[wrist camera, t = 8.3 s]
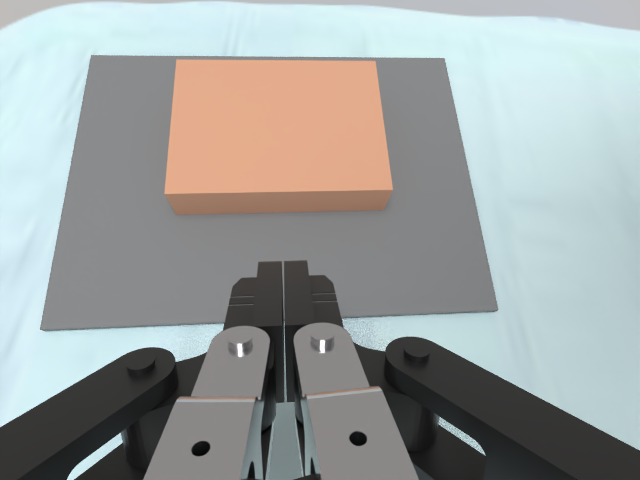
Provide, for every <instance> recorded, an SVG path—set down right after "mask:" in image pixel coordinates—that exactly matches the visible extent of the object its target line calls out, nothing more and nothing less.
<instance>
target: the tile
mask: <svg viewBox="0 0 640 480" xmlns="http://www.w3.org/2000/svg"><path fill="white" fill-rule="evenodd" d="M392 191H393V186H392V179H391V171H390V164H389V157H388V149H387V142H386V134H385V127H384V120H383V112H382V105H381V98H380V90H379V83H378V76H377V68H376V61H317V60H181V59H176V69H175V80H174V92H173V103H172V114H171V125H170V136H169V148H168V159H167V170H166V181H165V193H164V194H165V196H166V198H167V199H168V201H169V203H170V205H171V206H172V208H173V210H174V212H175V213H176V215H186V214H232V213H277V212H322V211H367V210H384V208H385V206H386V204H387V202H388V199H389V197H390V195H391V193H392Z"/></svg>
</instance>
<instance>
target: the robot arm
mask: <svg viewBox="0 0 640 480" xmlns="http://www.w3.org/2000/svg"><path fill="white" fill-rule="evenodd" d="M284 310H285V353H286V386H287V402H295V429H296V437H297V444H298V452H299V460H300V467H301V475H302V477H301V478H298V479H294V480H640V451H639V450H637V449H635V448H634V447H632V446H630V445H628V444H626V443H624V442H622V441H620V440H618V439H616V438H614V437H613V436H611V435H609V434H607V433H605V432H603V431H601V430H599V429H597V428H595V427H594V426H592V425H590V424H588V423H586V422H584V421H582V420H580V419H578V418H576V417H575V416H573V415H571V414H569V413H567V412H565V411H563V410H561V409H559V408H557V407H556V406H554V405H552V404H550V403H548V402H546V401H544V400H542V399H540V398H538V397H536V396H535V395H533V394H531V393H529V392H527V391H525V390H523V389H521V388H519V387H517V386H516V385H514V384H512V383H510V382H508V381H506V380H504V379H502V378H500V377H498V376H497V375H495V374H493V373H491V372H489V371H487V370H485V369H483V368H481V367H479V366H477V365H476V364H474V363H472V362H470V361H468V360H466V359H464V358H462V357H460V356H458V355H457V354H455V353H453V352H451V351H449V350H447V349H445V348H443V347H441V346H439V345H438V344H436V343H434V342H432V341H429V340H427V339H423V338H419V337H402V338H398V339H395V340H393V341H392V342H390V343H389V344H388V346H387V348H386V352H385V351H379V350H373V349H368V348H365V347H362V346H360V345H357V344H356V343H354V342H353V341H352V338H351V336H350V334H349V333H348V332H347V331H346V330H345V329H344V328H343V323H342V319H341V315H340V310H339V306H338V302H337V297H336V294H335V289H334V284H333V282H332V281H331V280H329V279H328V278H327V277H326V276H325V275H309V271H308V263H307V260H295V261H284ZM282 402H284V311H283V278H282V261H263V262H258V269H257V277H249V278H241V279H240V280H239V281H238V282H236V283H235V284H234V285H233V287H232V291H231V296H230V300H229V306H228V309H227V314H226V319H225V323H224V328H223V331H222V332H220V333H219V334H217V335H216V336H215V337H214V338H213V340H212V341H211V344H210V346H209V349H208V352H206V353H204V354H202V355H200V356H197V357H194V358H190V359H186V360H182V361H179V362H175V357H174V355H173V354H172V353H171V352H170V351H168V350H166V349H162V348H156V347H150V348H142V349H138V350H135V351H132V352H129V353H127V354H125V355H123V356H121V357H120V358H118V359H116V360H115V361H113V362H111V363H109V364H108V365H106V366H104V367H103V368H101V369H99V370H98V371H96V372H94V373H92V374H91V375H89V376H87V377H86V378H84V379H82V380H80V381H79V382H77V383H75V384H74V385H72V386H70V387H68V388H67V389H65V390H63V391H62V392H60V393H58V394H57V395H55V396H53V397H51V398H50V399H48V400H46V401H45V402H43V403H41V404H39V405H38V406H36V407H34V408H33V409H31V410H29V411H27V412H26V413H24V414H22V415H21V416H19V417H17V418H16V419H14V420H12V421H10V422H9V423H7V424H5V425H4V426H2V427H0V480H67V478H68V476H69V474H70V473H71V471H72V470H73V469H74V467H75V466H76V465H77V464H79V463H80V462H81V461H82V460H84V459H85V458H86V457H88V456H89V455H90V454H92V453H93V452H95V451H96V450H97V449H99V448H100V447H101V446H103V445H104V444H105V443H107V442H108V441H110V440H111V439H112V438H114V437H115V436H116V435H118V434H119V433H120V432H121V436H122V440H123V443H122V444H121V445H119V446H118V447H117V448H115V449H114V450H113V451H111V452H110V453H109V454H107V455H106V456H105V457H103V458H102V459H101V460H99V461H98V462H97V463H96V464H94V465H93V466H92V467H90V468H89V469H88V470H86V471H85V472H84V473H82V474H81V475H80V476H78V477H77V478H76V479H74V480H268V478H269V469H270V460H271V452H272V443H273V434H274V418H275V416H276V403H282ZM439 416H440V417H441V418H443V419H444V420H446V421H447V422H449V423H450V424H452V425H453V426H455V427H456V428H458V429H459V430H461V431H463V432H464V433H466V434H467V435H469V436H470V437H472V438H473V439H474V440H476V441H477V442H478V443H479V445H480V446H481V447H482V449H483V450H484V452H485V454H486V456H485V455H483V454H482V453H480V452H479V451H477V450H476V449H474V448H473V447H471V446H470V445H468V444H467V443H465V442H464V441H462V440H461V439H459V438H458V437H456V436H455V435H453V434H452V433H450V432H449V431H447V430H446V429H444V428H443V427H441V426H440V425H438V423H439Z"/></svg>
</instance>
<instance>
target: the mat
mask: <svg viewBox="0 0 640 480" xmlns="http://www.w3.org/2000/svg"><path fill="white" fill-rule="evenodd" d="M176 59H181V60H317V61H376V68H377V76H378V83H379V90H380V98H381V105H382V112H383V120H384V127H385V134H386V142H387V149H388V157H389V164H390V171H391V179H392V186H393V191H392V193H391V195H390V197H389V199H388V202H387V204H386V206H385V208H384V210H367V211H322V212H277V213H232V214H186V215H176V213H175V212H174V210H173V208H172V206H171V205H170V203H169V201H168V199H167V198H166V196H165V194H164V193H165V181H166V170H167V159H168V148H169V136H170V125H171V114H172V103H173V92H174V80H175V69H176ZM295 260H307V263H308V271H309V275H325V276H326V277H327V278H328V279H329V280H331V281H332V282H333V284H334V289H335V294H336V297H337V302H338V306H339V310H340V315H341V318H354V317H377V316H400V315H423V314H447V313H470V312H493V311H497V310H498V306H497V301H496V297H495V292H494V287H493V283H492V278H491V273H490V269H489V264H488V259H487V255H486V250H485V245H484V241H483V236H482V231H481V227H480V222H479V217H478V213H477V208H476V203H475V199H474V194H473V189H472V185H471V180H470V175H469V171H468V166H467V161H466V157H465V152H464V147H463V143H462V138H461V133H460V129H459V124H458V119H457V115H456V110H455V105H454V101H453V96H452V91H451V87H450V82H449V77H448V73H447V68H446V63H445V59H444V58H356V57H231V56H105V55H91V59H90V64H89V69H88V75H87V80H86V85H85V91H84V96H83V102H82V107H81V112H80V118H79V123H78V128H77V134H76V139H75V144H74V150H73V155H72V161H71V166H70V171H69V177H68V182H67V187H66V193H65V198H64V203H63V209H62V214H61V220H60V225H59V230H58V236H57V241H56V246H55V252H54V257H53V262H52V268H51V273H50V279H49V284H48V289H47V295H46V300H45V305H44V311H43V316H42V321H41V327H40V330H43V331H53V330H76V329H99V328H123V327H146V326H169V325H192V324H215V323H225V319H226V314H227V309H228V306H229V300H230V296H231V291H232V287H233V285H234V284H235V283H236V282H238V281H239V280H240V279H241V278H249V277H257V269H258V262H263V261H282V278H283V311H284V321H285V310H284V261H295Z"/></svg>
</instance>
